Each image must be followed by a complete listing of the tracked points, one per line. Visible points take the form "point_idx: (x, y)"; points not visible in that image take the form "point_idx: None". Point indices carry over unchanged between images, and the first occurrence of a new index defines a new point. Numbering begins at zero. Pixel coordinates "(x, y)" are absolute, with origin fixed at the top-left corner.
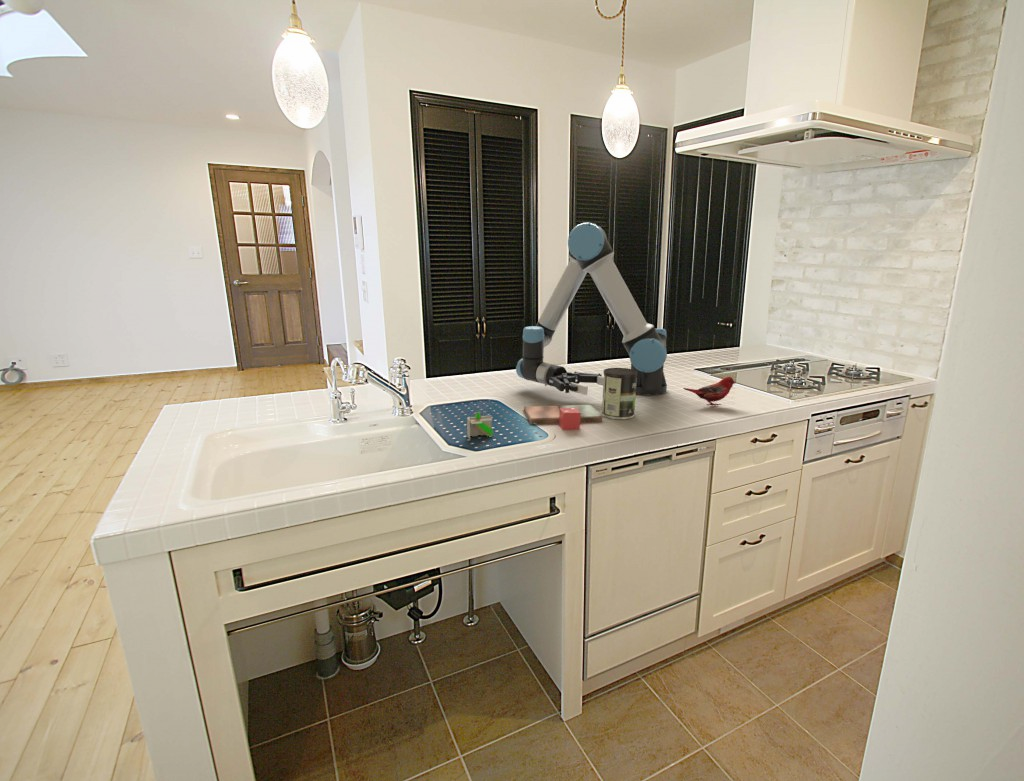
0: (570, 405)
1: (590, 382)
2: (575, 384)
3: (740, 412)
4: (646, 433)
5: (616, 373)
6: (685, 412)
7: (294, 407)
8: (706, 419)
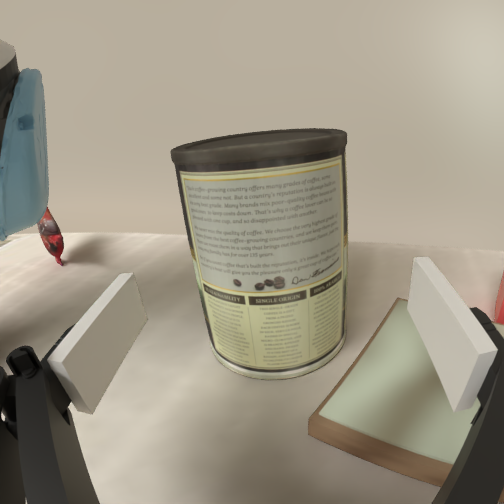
0: (439, 453)
1: (82, 460)
2: (469, 314)
3: (90, 239)
4: (350, 243)
5: (309, 133)
6: (128, 267)
7: None
8: (162, 241)
